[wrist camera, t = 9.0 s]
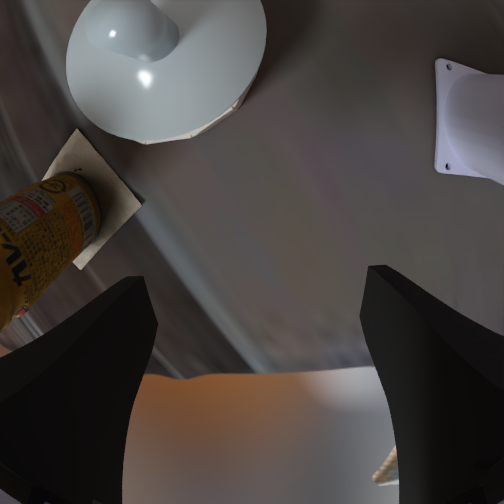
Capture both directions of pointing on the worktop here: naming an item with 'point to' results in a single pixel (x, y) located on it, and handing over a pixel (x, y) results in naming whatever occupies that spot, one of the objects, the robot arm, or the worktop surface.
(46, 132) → the worktop surface
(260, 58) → the lid
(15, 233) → the condiment
